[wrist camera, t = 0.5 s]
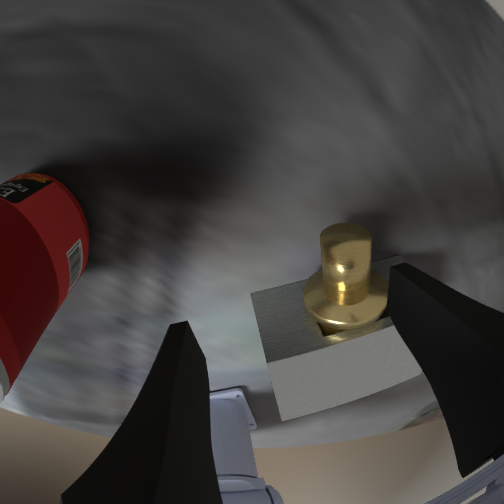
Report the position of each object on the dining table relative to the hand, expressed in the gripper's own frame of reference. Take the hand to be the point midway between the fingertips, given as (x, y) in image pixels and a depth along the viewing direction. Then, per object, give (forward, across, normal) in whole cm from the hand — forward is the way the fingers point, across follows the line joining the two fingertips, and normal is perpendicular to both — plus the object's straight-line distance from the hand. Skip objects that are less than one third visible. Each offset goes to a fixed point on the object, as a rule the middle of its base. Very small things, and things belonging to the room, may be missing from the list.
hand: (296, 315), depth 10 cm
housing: (+10, -4, +11) cm, 15 cm away
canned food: (+10, +13, -2) cm, 17 cm away
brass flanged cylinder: (+10, -4, +6) cm, 12 cm away
